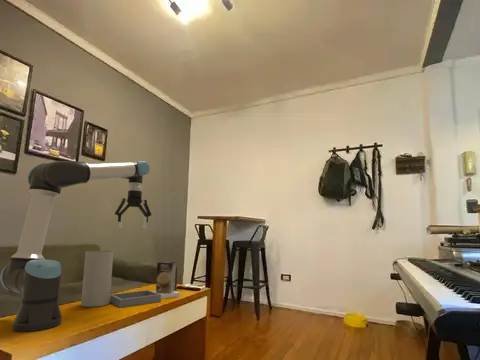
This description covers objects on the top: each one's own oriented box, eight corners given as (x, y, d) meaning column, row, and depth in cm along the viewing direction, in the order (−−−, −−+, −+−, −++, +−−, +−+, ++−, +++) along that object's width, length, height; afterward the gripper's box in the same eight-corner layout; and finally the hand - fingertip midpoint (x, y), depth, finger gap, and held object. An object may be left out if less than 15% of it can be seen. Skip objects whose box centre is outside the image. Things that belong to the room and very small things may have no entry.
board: (159, 299, 159) (159, 295, 159) (149, 295, 168) (150, 291, 168) (179, 296, 166) (180, 292, 167) (169, 293, 175) (169, 289, 176)
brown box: (178, 291, 182) (179, 265, 185) (162, 292, 177) (164, 265, 180) (173, 288, 190) (174, 263, 193) (157, 290, 185) (159, 264, 188)
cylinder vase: (111, 301, 154) (114, 250, 159) (107, 306, 143) (111, 251, 147) (84, 302, 151) (88, 250, 156) (78, 308, 139) (83, 252, 144)
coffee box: (154, 293, 165) (156, 262, 168) (159, 290, 171) (160, 261, 174) (171, 293, 164) (172, 262, 167) (175, 291, 170) (176, 261, 173)
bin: (120, 307, 141) (120, 299, 141) (109, 301, 153) (109, 294, 153) (160, 301, 153) (160, 294, 154) (147, 296, 165) (148, 289, 166)
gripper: (114, 188, 165) (111, 227, 161) (158, 192, 181) (156, 228, 177) (110, 189, 171) (107, 227, 167) (152, 193, 186) (151, 228, 183)
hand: (132, 228), depth 172 cm, fingers open, 13 cm apart
